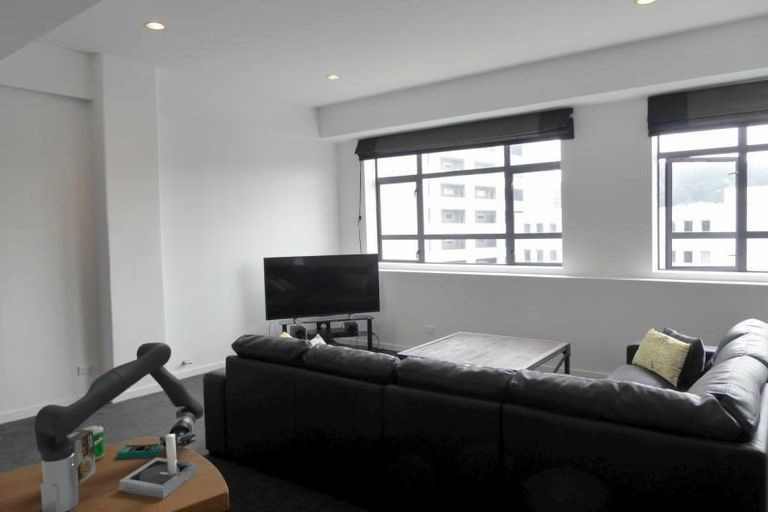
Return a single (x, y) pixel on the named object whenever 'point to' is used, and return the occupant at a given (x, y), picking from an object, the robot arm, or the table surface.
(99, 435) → the soda can
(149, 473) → the lever
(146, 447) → the digital multimeter
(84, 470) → the coffee box
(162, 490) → the grey square frame
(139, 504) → the table surface
